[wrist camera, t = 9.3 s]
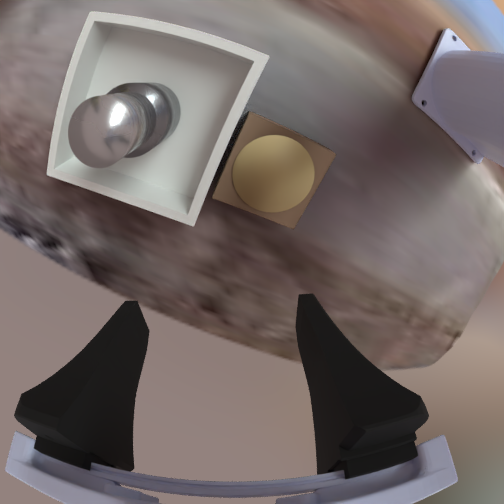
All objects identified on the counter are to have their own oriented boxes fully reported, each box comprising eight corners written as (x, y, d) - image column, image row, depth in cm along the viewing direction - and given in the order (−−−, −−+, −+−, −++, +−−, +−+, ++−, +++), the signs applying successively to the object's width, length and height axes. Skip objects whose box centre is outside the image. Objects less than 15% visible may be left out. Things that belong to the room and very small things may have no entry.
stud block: (329, 149, 18) (336, 154, 17) (290, 219, 21) (293, 230, 20) (249, 110, 16) (249, 113, 15) (213, 189, 19) (211, 198, 18)
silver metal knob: (182, 141, 17) (147, 174, 11) (122, 147, 17) (67, 183, 11) (179, 78, 14) (139, 75, 9) (117, 88, 14) (55, 96, 8)
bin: (264, 61, 15) (269, 56, 12) (199, 205, 20) (193, 226, 17) (111, 19, 12) (90, 11, 9) (69, 160, 17) (46, 174, 14)
